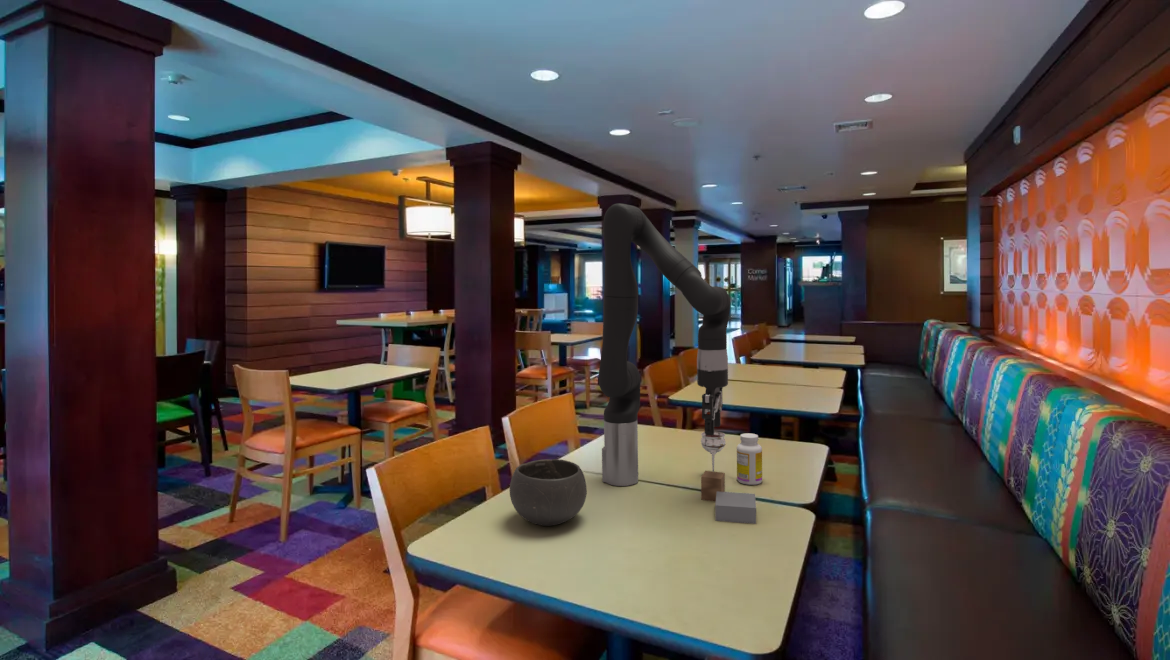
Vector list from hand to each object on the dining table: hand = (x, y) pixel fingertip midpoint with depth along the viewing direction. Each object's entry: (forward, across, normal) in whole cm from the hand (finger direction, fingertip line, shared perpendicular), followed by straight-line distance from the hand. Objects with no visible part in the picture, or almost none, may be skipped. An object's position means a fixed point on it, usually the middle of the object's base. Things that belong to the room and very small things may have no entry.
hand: (712, 430), depth 150 cm
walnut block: (+17, 0, 0) cm, 17 cm away
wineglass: (+18, -16, -3) cm, 24 cm away
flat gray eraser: (+18, +9, +7) cm, 21 cm away
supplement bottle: (+18, -15, +7) cm, 24 cm away
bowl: (+18, +27, -33) cm, 46 cm away
